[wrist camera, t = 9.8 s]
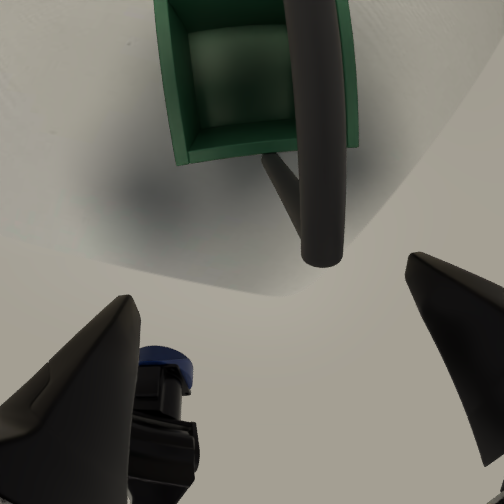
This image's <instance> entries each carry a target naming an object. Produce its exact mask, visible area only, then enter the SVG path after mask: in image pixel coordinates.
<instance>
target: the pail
mask: <svg viewBox="0 0 504 504" xmlns="http://www.w3.org/2000/svg"><path fill="white" fill-rule="evenodd" d="M154 12H155V23H156V32H157V42H158V50H159V58H160V66H161V74H162V81H163V88H164V95H165V102H166V108H167V115H168V121H169V127H170V133H171V139H172V145H173V150H174V156H175V161H176V165H177V166H181V165H187V164H189V163H191V164H192V163H199V162H205V161H211V160H218V159H225V158H233V157H241V156H249V155H257V154H263V156H262V158H261V162H262V164H263V166H264V168H265V170H266V172H267V174H268V176H269V178H270V180H271V181H272V183H273V185H274V187H275V189H276V191H277V193H278V195H279V197H280V199H281V201H282V203H283V205H284V207H285V209H286V211H287V213H288V215H289V217H290V219H291V221H292V223H293V225H294V227H295V229H296V231H297V233H298V235H299V237H300V239H301V256H302V258H303V260H304V261H305V262H306V263H307V264H309V265H311V266H314V267H319V268H326V267H332V266H334V265H336V264H338V263H339V262H340V261H341V259H342V257H343V245H344V228H345V207H346V148H347V147H348V148H357V147H359V125H358V95H357V77H356V64H355V52H354V42H353V33H352V25H351V17H350V10H349V4H348V0H154ZM288 151H298V168H299V180H298V178H297V177H296V176H295V175H294V174H293V172H292V171H291V170H290V169H289V167H288V166H287V165H286V164H285V163H284V161H283V160H282V159H281V158H280V157H279V155H278V154H277V152H288Z"/></svg>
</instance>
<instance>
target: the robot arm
mask: <svg viewBox="0 0 504 504" xmlns="http://www.w3.org/2000/svg"><path fill="white" fill-rule="evenodd" d="M405 279H406V282H407V285H408V286H409V289H410V291H411V293H412V296H413V298H414V300H415V303H416V305H417V307H418V310H419V312H420V314H421V317H422V319H423V320H424V322H425V324H426V326H427V328H428V330H429V332H430V334H431V336H432V338H433V340H434V342H435V344H436V346H437V348H438V350H439V352H440V354H441V356H442V358H443V361H444V363H445V365H446V367H447V369H448V371H449V374H450V376H451V378H452V380H453V383H454V385H455V387H456V389H457V392H458V394H459V397H460V399H461V402H462V404H463V407H464V409H465V412H466V414H467V416H468V420H469V423H470V425H471V428H472V431H473V434H474V437H475V440H476V442H477V446H478V449H479V452H480V455H481V459H482V462H483V464H484V467H486V466H488V465H489V464H491V463H492V462H493V461H495V460H496V459H498V458H499V457H500V456H502V455H503V454H504V288H503V287H501V286H499V285H497V284H495V283H493V282H491V281H488V280H486V279H484V278H482V277H479V276H477V275H475V274H473V273H471V272H468V271H466V270H464V269H461V268H459V267H457V266H454V265H452V264H450V263H447V262H445V261H442V260H440V259H438V258H435V257H433V256H430V255H428V254H425V253H423V252H415V253H411V254H410V255H409V257H408V261H407V266H406V271H405ZM140 325H141V318H140V314H139V311H138V309H137V307H136V305H135V302H134V300H133V298H132V296H131V295H121V296H118V297H116V298H115V299H114V300H113V301H112V302H111V303H110V304H109V305H107V306H106V307H105V308H104V309H103V310H102V311H101V312H100V313H99V314H98V315H96V316H95V318H93V319H92V320H91V321H90V322H89V323H88V324H87V325H86V326H85V327H84V328H82V330H80V331H79V332H78V333H77V334H76V335H75V336H74V337H73V338H72V339H71V340H70V341H69V342H68V343H67V344H66V345H65V346H64V347H63V348H62V349H60V350H59V351H58V352H57V353H56V354H55V355H54V356H53V357H52V358H51V359H50V360H49V363H46V364H45V365H44V366H43V367H42V368H41V369H40V370H39V371H38V372H37V373H36V374H35V375H34V376H33V377H32V378H31V379H30V380H29V381H28V382H27V383H26V384H24V385H23V386H22V387H21V388H20V389H19V390H18V391H17V392H16V393H14V394H13V395H12V396H11V397H10V398H9V399H8V400H7V401H5V402H4V403H3V404H2V405H1V406H0V504H127V496H128V497H129V499H130V504H177V503H178V501H179V500H180V499H181V497H182V496H183V495H184V493H185V492H186V491H187V489H188V488H189V487H190V486H191V484H192V483H193V481H194V480H195V476H194V473H195V472H196V471H197V468H198V465H199V457H200V449H199V442H198V435H197V427H196V423H195V422H186V421H181V404H182V396H187V395H191V390H190V388H189V386H188V384H187V382H186V380H185V378H184V376H183V374H182V372H181V370H180V368H179V366H178V365H177V364H161V365H138V364H139V345H140ZM500 491H501V493H500V494H499V495H497V496H496V497H495V498H493V499H492V500H491V501H489V502H488V503H487V504H504V480H503V483H502V487H501V490H500Z"/></svg>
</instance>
